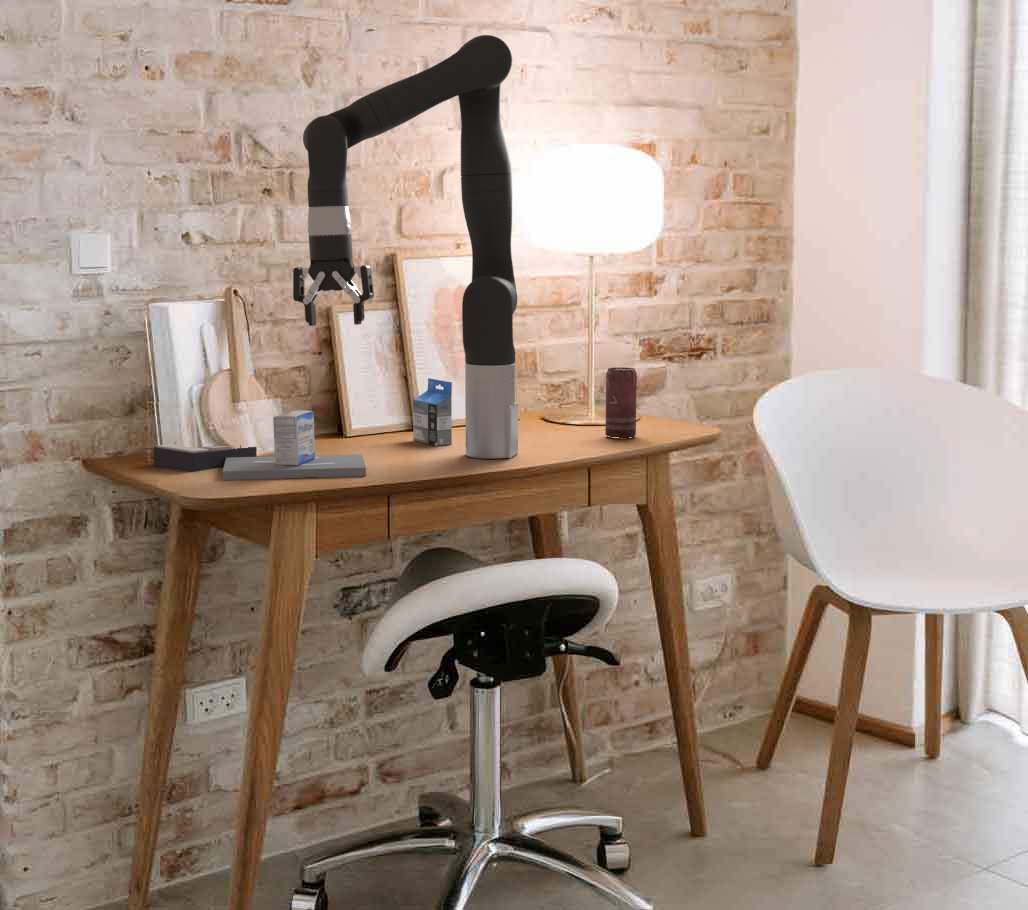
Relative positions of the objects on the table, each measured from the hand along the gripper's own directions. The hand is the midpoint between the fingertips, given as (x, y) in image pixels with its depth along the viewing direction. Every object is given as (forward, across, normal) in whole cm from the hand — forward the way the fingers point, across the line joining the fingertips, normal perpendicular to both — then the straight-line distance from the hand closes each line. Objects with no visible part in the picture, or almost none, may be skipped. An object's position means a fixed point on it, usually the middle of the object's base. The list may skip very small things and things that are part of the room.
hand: (335, 325), depth 244 cm
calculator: (+25, +24, +6) cm, 35 cm away
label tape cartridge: (+26, -10, -25) cm, 37 cm away
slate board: (+25, +5, +11) cm, 27 cm away
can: (+27, -46, -40) cm, 66 cm away
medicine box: (+23, +5, +10) cm, 26 cm away
